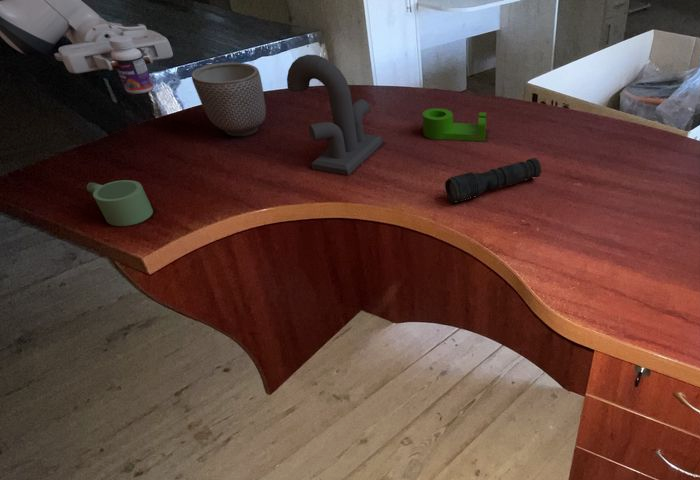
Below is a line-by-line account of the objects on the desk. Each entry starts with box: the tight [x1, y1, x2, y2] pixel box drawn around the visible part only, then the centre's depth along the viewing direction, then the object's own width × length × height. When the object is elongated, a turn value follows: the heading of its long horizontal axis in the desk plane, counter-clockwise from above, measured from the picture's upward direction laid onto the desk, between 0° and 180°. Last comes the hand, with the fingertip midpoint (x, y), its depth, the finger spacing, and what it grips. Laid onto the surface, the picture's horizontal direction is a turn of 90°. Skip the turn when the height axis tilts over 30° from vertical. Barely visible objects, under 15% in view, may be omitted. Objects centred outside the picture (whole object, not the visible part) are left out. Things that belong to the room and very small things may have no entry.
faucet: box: [286, 54, 384, 176], centre depth 114 cm, size 18×16×20 cm
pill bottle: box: [109, 36, 155, 95], centre depth 110 cm, size 5×5×10 cm
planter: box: [191, 61, 267, 137], centre depth 122 cm, size 14×14×13 cm
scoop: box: [86, 179, 154, 227], centre depth 97 cm, size 12×8×5 cm, turn 65°
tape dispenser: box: [422, 107, 487, 142], centre depth 129 cm, size 15×7×5 cm, turn 89°
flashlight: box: [444, 157, 542, 204], centre depth 109 cm, size 5×21×5 cm, turn 123°
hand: (131, 62), depth 109 cm, fingers closed on pill bottle, 5 cm apart
